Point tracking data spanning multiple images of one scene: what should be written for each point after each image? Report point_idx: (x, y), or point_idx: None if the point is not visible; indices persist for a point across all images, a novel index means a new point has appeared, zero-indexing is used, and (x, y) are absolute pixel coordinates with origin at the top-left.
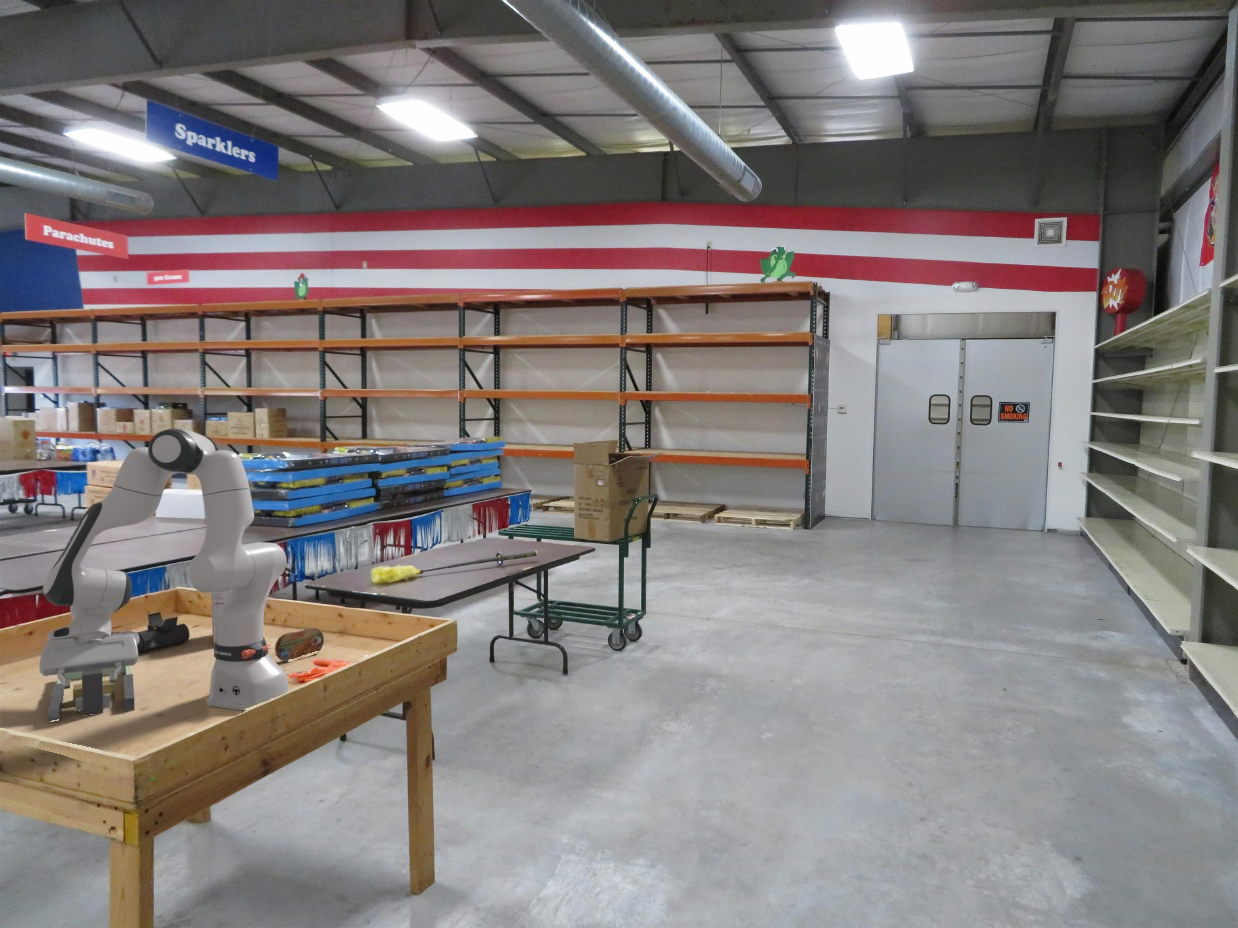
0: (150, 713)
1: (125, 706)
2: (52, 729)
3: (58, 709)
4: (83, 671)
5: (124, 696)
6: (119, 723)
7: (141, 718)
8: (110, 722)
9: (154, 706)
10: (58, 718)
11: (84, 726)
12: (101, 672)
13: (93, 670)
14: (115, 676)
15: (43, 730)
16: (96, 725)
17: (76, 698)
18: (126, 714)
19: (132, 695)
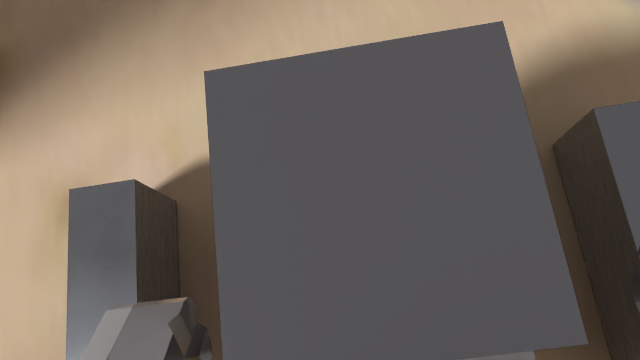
0: (40, 111)
1: (157, 193)
2: (547, 17)
3: (594, 111)
4: (546, 263)
5: (144, 299)
6: (195, 5)
7: (88, 46)
8: (242, 34)
9: (10, 233)
10: (565, 137)
11: (373, 13)
12: (215, 89)
13: (366, 268)
14: (109, 331)
15: (597, 15)
16: (310, 10)
17: (528, 357)
18: (165, 139)
19: (80, 256)
